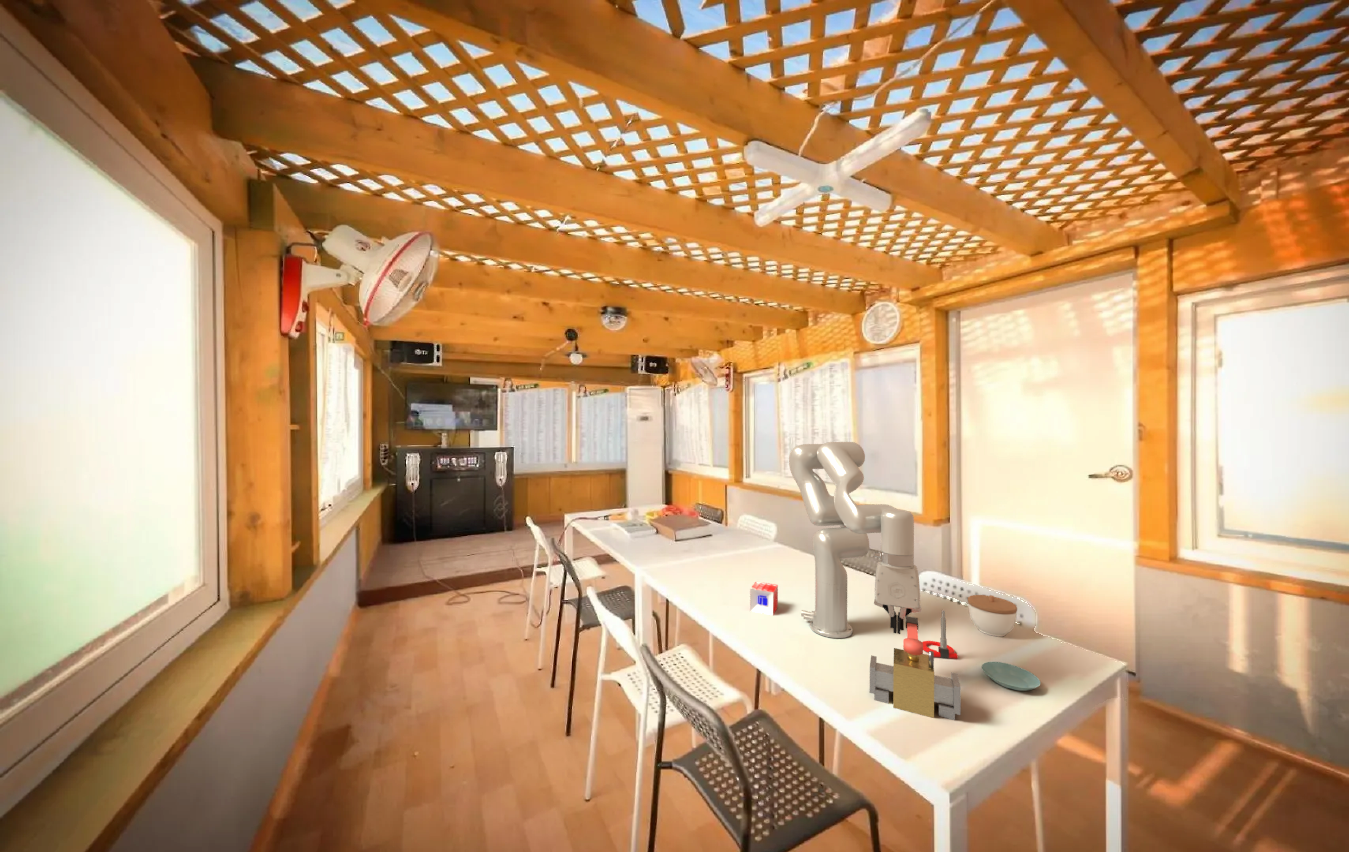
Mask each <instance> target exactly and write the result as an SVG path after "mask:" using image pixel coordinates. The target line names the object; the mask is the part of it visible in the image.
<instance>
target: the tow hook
mask: <svg viewBox="0 0 1349 852" xmlns="http://www.w3.org/2000/svg"><path fill="white" fill-rule="evenodd" d="M921 642H922V643H923V652H926V653H928V654H929V651H933V652H934V658H940V659H954V660H957V659H958V658H959V656H958V653H957V652H955V649H954V648H953V647H952V646H951V645H948V639H947V619H946V610H945V609H942V610H941V617H940V638H939V641H934V640H922V641H921ZM928 646H935V647H938V650H935V649H933V648H930V647H928Z"/></svg>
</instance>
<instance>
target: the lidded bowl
mask: <svg viewBox="0 0 1349 852" xmlns="http://www.w3.org/2000/svg"><path fill="white" fill-rule="evenodd" d="M967 604H968V605H967V608H968V614H969V617H970V620H971V621H972V623H973V625H974V626H975V627H976V628H977V630H978V631H980V632H981V633H983V634H985V635H988V636H993V637H1005V636H1006V635H1007V634H1009V633H1010V632H1012V630H1014V627H1015V625H1016V622H1017V621H1016V620H1017V613H1018V606H1017V605H1016V604H1015V603H1013V602H1011V601H1009V600H1007V599H1003V598H1001V597H997V596H994V595H991V594H990V595H986V594H972V595H970V596H968V597H967Z"/></svg>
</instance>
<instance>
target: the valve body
mask: <svg viewBox="0 0 1349 852" xmlns="http://www.w3.org/2000/svg"><path fill="white" fill-rule="evenodd" d="M934 662H935V657H934V652H933V651H929V653H928V654H926V653H923V654H922V655H913V654H909V653H907V652H905V651H904V649H901V648H896V647H894V648H893V665H891V664H890V665H889V664H885V663H881V662H877V656H875V655H871V656H870V662H869V693H870V694H873V696H874V697H873V700H874V701H877V702H880V703H885V704H890V703H889V700H890V699H889V698H890V692H893V696H892V698H893V699H892V700H893V701H892V704H893V705H892V707H893V709H898V710H902V711H905V712H908V713H909V712H910V713H913V714H917V715H922V716H925V717H929V718H933V719H934V718H935V703H937V704H936V705H937V711H938V712H937V713H938V714H937V715H938V716H939V717H940V718H945V719H949V720H953V721H955V720H956V715H958V716H961V703H962V702H961V700H962V699H961V696H962V695H961V694H962V693H961V691H962V690H961V683H960V679H959V675H958V673H957V672H951V673H950V678H948V677H944V676H941V675H940V676H939V675H935V668H934V666H935V663H934Z"/></svg>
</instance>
